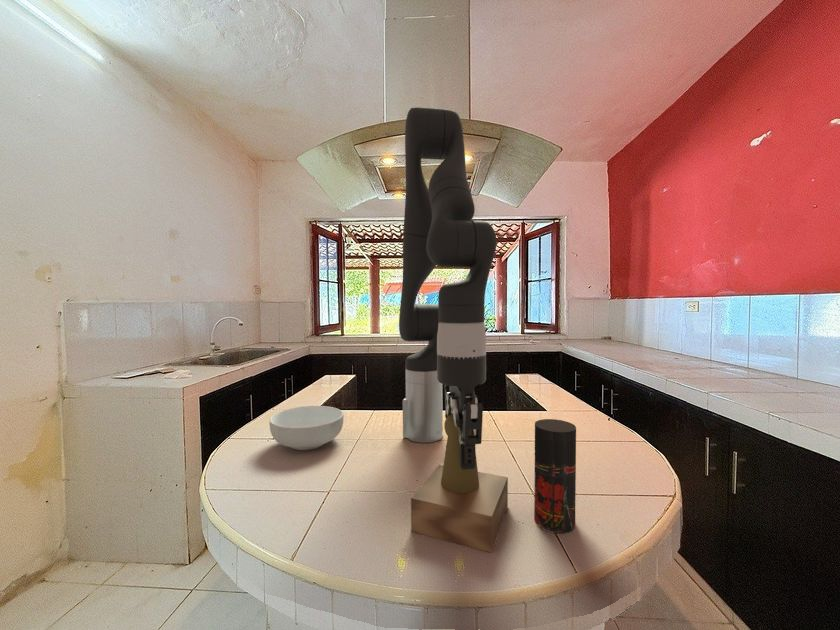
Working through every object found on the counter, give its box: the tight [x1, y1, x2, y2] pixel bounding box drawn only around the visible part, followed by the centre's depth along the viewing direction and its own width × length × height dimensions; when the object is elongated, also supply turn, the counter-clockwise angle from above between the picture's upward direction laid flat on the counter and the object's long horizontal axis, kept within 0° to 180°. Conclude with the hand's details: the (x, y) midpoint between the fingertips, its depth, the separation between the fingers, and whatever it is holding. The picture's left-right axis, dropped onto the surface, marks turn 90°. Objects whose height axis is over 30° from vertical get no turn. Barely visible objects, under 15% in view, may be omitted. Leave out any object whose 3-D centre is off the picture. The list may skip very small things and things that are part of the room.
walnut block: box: [410, 464, 509, 553], centre depth 58 cm, size 12×12×5 cm
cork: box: [441, 414, 479, 494], centre depth 58 cm, size 6×6×11 cm
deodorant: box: [533, 418, 577, 534], centre depth 57 cm, size 6×6×15 cm
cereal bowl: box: [269, 405, 345, 451], centre depth 89 cm, size 17×17×7 cm
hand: (461, 458), depth 58 cm, fingers open, 6 cm apart
